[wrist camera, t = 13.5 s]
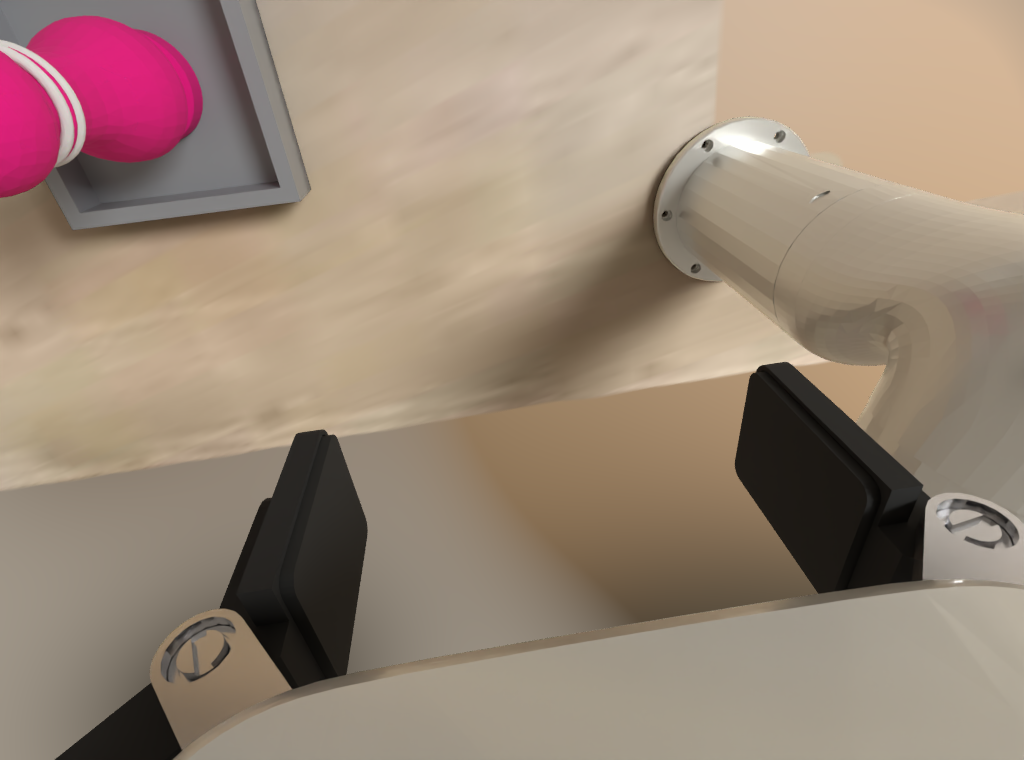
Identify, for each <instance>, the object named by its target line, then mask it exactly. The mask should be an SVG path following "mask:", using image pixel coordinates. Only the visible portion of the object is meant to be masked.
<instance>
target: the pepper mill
mask: <svg viewBox="0 0 1024 760" xmlns="http://www.w3.org/2000/svg"><path fill="white" fill-rule="evenodd" d="M202 110H203V96H202V91H201V87H200V84H199V81H198V79H197V77H196V74H195V72H194V71H193V69H192V67H191V66H190V64H189V63H188V61H187V60H186V59H185V58H184V56H183V55H182V54H181V53H180V52H179V51H178V50H177V49H176V48H175V47H173V46H172V45H171V44H170V43H168V42H167V41H165V40H164V39H162V38H161V37H159V36H157V35H155V34H152V33H150V32H147V31H143V30H139V29H133V28H131V27H129V26H127V25H125V24H123V23H120V22H117V21H115V20H112V19H109V18H104V17H100V16H86V15H85V16H77V17H68V18H63V19H61V20H58V21H55V22H53V23H51V24H49V25H48V26H46V27H45V28H43V29H42V30H40V31H39V32H38V33H37V34H36V35H35V36H34V37H33V38H32V39H31V40H30V42H29V43H28V45H27V47H26V48H24V47H22V46H19V45H17V44H15V43H11V42H8V41H4V40H0V198H2V197H8V196H13V195H16V194H19V193H22V192H25V191H28V190H30V189H32V188H33V187H35V186H36V185H38V184H39V183H41V182H42V181H43V180H45V179H46V177H47V176H48V175H49V173H50V172H51V171H52V169H53V168H54V167H59V166H62V165H64V164H66V163H68V162H70V161H71V160H72V159H74V158H75V157H76V156H77V155H78V154H79V152H80V151H81V152H83V153H86V154H88V155H91V156H94V157H97V158H100V159H105V160H110V161H116V162H125V163H132V162H142V161H147V160H153V159H156V158H158V157H161V156H163V155H165V154H166V153H168V152H169V151H171V150H172V149H173V148H174V147H175V146H176V145H177V144H178V142H179V141H180V139H183V138H184V137H186V136H187V135H189V134H190V133H191V132H192V131H193V130H194V129H195V128H196V127H197V125H198V123H199V121H200V118H201V115H202Z"/></svg>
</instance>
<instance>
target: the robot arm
mask: <svg viewBox="0 0 1024 760" xmlns="http://www.w3.org/2000/svg"><path fill="white" fill-rule="evenodd" d="M775 134H776V136H775ZM774 136H775V137H774ZM704 141H705V146H704V147H702V144H703V142H704ZM664 211H666V213H665V215H663V216H662V213H663V212H664ZM653 221H654V231H655V235H656V238H657V241H658V245H659V247H660V248H661V250H662V252H663V254H664V255H665V257H666V258H667V259H668V260H669V261H670V262H671V263H672V264H673V265H674V266H675V267H676V268H678V269H679V270H680V271H681V272H683V273H684V274H686V275H688V276H690V277H692V278H696V279H700V280H703V281H717V282H719V281H724V282H725V283H726V284H728V285H729V286H730V287H731V288H732V289H734V290H735V291H736V292H737V293H738V294H740V295H741V296H742V297H743V298H744V299H746V300H747V301H748V302H749V303H750V304H752V305H753V306H754V307H755V308H756V309H758V310H759V311H760V312H761V313H762V314H764V315H765V316H766V317H767V318H768V319H770V320H771V321H772V322H773V323H774V324H776V325H777V326H778V327H779V328H780V329H782V330H783V331H784V332H785V333H786V334H788V335H789V336H790V337H791V338H792V339H794V340H795V341H796V342H797V343H799V344H800V345H801V346H802V347H804V348H805V349H807V350H808V351H810V352H811V353H813V354H815V355H817V356H819V357H821V358H824V359H826V360H829V361H833V362H837V363H842V364H847V365H861V366H877V365H886V368H885V370H884V372H883V374H882V376H881V378H880V380H879V382H878V384H877V386H876V387H875V389H874V390H873V392H872V394H871V396H870V398H869V402H868V403H867V405H866V407H865V408H864V410H863V412H862V413H861V415H860V417H859V418H858V420H857V422H856V423H855V422H854V421H853V420H852V419H850V418H849V417H848V416H847V415H846V414H845V413H844V412H843V411H842V410H841V409H840V408H838V407H837V406H836V405H835V404H834V403H833V402H832V401H831V400H830V399H828V398H827V397H826V396H825V395H824V394H823V393H822V392H821V391H820V390H819V389H818V388H816V387H815V386H814V385H813V384H812V383H811V382H810V381H809V380H808V379H806V378H805V377H804V376H803V375H802V374H801V373H800V372H799V371H798V370H797V369H796V368H795V367H793V366H792V365H791V364H790V363H788V362H782V363H775V364H768V365H762V366H760V367H759V368H758V369H757V371H756V373H753V374H752V375H751V376H750V379H749V384H748V390H747V396H746V402H745V407H744V413H743V419H742V424H741V431H740V436H739V441H738V447H737V453H736V459H735V469H736V473H737V475H738V477H739V479H740V480H741V482H742V483H743V485H744V486H745V488H746V489H747V491H748V492H749V494H750V495H751V496H752V498H753V499H754V501H755V502H756V504H757V505H758V507H759V508H760V509H761V511H762V512H763V514H764V515H765V517H766V518H767V520H768V521H769V523H770V524H771V525H772V527H773V528H774V530H775V531H776V533H777V534H778V536H779V537H780V539H781V540H782V541H783V543H784V544H785V546H786V547H787V549H788V550H789V551H790V553H791V554H792V556H793V557H794V559H795V560H796V562H797V563H798V565H799V566H800V568H801V569H802V570H803V572H804V573H805V575H806V576H807V578H808V579H809V581H810V582H811V584H812V585H813V586H814V588H815V589H816V591H817V592H818V594H814V595H808V596H802V597H796V598H789V599H783V600H777V601H771V602H764V603H758V604H752V605H746V606H739V607H733V608H727V609H721V610H714V611H708V612H702V613H696V614H690V615H684V616H678V617H672V618H666V619H660V620H654V621H648V622H641V623H635V624H629V625H624V626H617V627H612V628H605V629H600V630H593V631H587V632H581V633H576V634H569V635H563V636H557V637H551V638H546V639H540V640H535V641H528V642H522V643H516V644H511V645H505V646H499V647H493V648H487V649H481V650H476V651H470V652H464V653H458V654H453V655H447V656H441V657H435V658H430V659H425V660H419V661H414V662H409V663H403V664H398V665H393V666H387V667H382V668H377V669H372V670H366V671H361V672H356V673H352V674H347V675H346V673H347V667H348V660H349V653H350V647H351V641H352V634H353V627H354V620H355V614H356V607H357V600H358V593H359V587H360V581H361V574H362V567H363V561H364V554H365V547H366V541H367V522H366V518H365V515H364V512H363V510H362V507H361V504H360V501H359V498H358V496H357V493H356V490H355V487H354V484H353V482H352V479H351V476H350V473H349V470H348V468H347V465H346V462H345V459H344V456H343V453H342V451H341V448H340V445H339V442H338V439H337V437H336V436H335V435H328V434H327V432H326V431H325V430H316V431H309V432H302V433H298V434H296V436H295V437H294V440H293V443H292V446H291V448H290V451H289V454H288V456H287V459H286V462H285V464H284V467H283V470H282V472H281V475H280V478H279V480H278V483H277V486H276V488H275V491H274V494H273V497H272V498H267V499H265V500H264V501H263V502H262V503H261V505H260V507H259V509H258V512H257V514H256V517H255V519H254V522H253V524H252V527H251V529H250V532H249V534H248V537H247V540H246V542H245V545H244V547H243V550H242V552H241V555H240V557H239V560H238V562H237V565H236V568H235V570H234V573H233V575H232V578H231V580H230V583H229V585H228V588H227V590H226V593H225V596H224V598H223V601H222V603H221V606H220V608H219V609H213V610H209V611H206V612H203V613H200V614H198V615H196V616H194V617H192V618H191V619H189V620H187V621H185V622H184V623H182V624H181V625H180V626H179V627H177V628H176V629H175V630H174V631H173V632H171V633H170V634H169V636H168V637H167V638H166V639H165V641H163V643H162V644H161V645H160V646H159V648H158V650H157V652H156V654H155V656H154V657H153V660H152V664H151V668H150V678H151V683H150V684H149V685H148V686H146V687H145V688H144V689H143V690H142V691H140V692H139V693H138V694H136V695H135V696H134V697H133V698H131V699H130V700H129V701H128V702H126V703H125V704H124V705H123V706H121V707H120V708H119V709H118V710H116V711H115V712H114V713H113V714H111V715H110V716H109V717H108V718H106V719H105V720H104V721H103V722H101V723H100V724H99V725H98V726H96V727H95V728H94V729H93V730H91V731H90V732H89V733H88V734H86V735H85V736H84V737H83V738H81V739H80V740H79V741H78V742H76V743H75V744H74V745H73V746H71V747H70V748H69V749H68V750H66V751H65V752H64V753H63V754H61V755H60V756H59V757H58V758H56V759H55V760H1024V214H1018V213H1012V212H1006V211H1001V210H995V209H991V208H986V207H982V206H978V205H973V204H969V203H965V202H961V201H957V200H954V199H950V198H946V197H942V196H939V195H936V194H932V193H929V192H926V191H922V190H919V189H915V188H912V187H909V186H903V185H900V184H897V183H894V182H890V181H887V180H884V179H881V178H877V177H874V176H871V175H867V174H864V173H861V172H857V171H854V170H851V169H848V168H844V167H841V166H838V165H834V164H831V163H828V162H825V161H821V160H818V159H815V158H811V157H810V156H809V153H808V150H807V148H806V146H805V145H804V143H803V142H802V141H801V139H800V137H799V136H798V135H797V134H796V133H794V132H793V131H792V130H791V129H790V128H789V127H787V126H785V125H783V124H781V123H779V122H777V121H774V120H769V119H766V118H759V117H749V116H748V117H740V118H732V119H730V120H727V121H724V122H721V123H718V124H716V125H714V126H712V127H710V128H708V129H707V130H705V131H703V132H701V133H700V134H699V135H698V136H696V137H695V138H694V139H692V140H691V141H690V142H689V143H688V144H687V145H686V146H685V147H684V148H683V149H682V150H681V151H680V152H679V153H678V154H677V156H676V157H675V158H674V160H673V161H672V163H671V164H670V166H669V167H668V169H667V170H666V172H665V174H664V177H663V179H662V181H661V183H660V185H659V188H658V192H657V195H656V199H655V204H654V215H653ZM693 265H694V266H693ZM692 266H693V267H692Z"/></svg>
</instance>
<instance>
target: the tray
mask: <svg viewBox="0 0 1024 760" xmlns="http://www.w3.org/2000/svg"><path fill="white" fill-rule="evenodd" d="M85 15H86V16H100V17H104V18H109V19H112V20H115V21H117V22H120V23H123V24H125V25H127V26H129V27H131V28H133V29H139V30H143V31H147V32H150V33H152V34H155V35H157V36H159V37H161V38H162V39H164V40H165V41H167V42H168V43H170V44H171V45H172V46H173V47H175V48H176V49H177V50H178V51H179V52H180V53H181V54H182V55H183V56H184V58H185V59H186V60H187V61H188V63H189V64H190V66H191V67H192V69H193V71H194V72H195V74H196V77H197V79H198V81H199V84H200V87H201V91H202V96H203V110H202V115H201V118H200V121H199V123H198V125H197V127H196V128H195V129H194V130H193V131H192V132H191V133H190V134H189V135H187V136H186V137H184V138H183V139H180V141H179V142H178V144H177V145H176V146H175V147H174V148H173V149H172V150H171V151H169V152H168V153H166V154H165V155H163V156H161V157H158V158H156V159H153V160H147V161H142V162H132V163H125V162H116V161H110V160H105V159H100V158H97V157H94V156H91V155H88V154H86V153H83V152H81V151H80V152H79V154H78V155H77V156H76V157H75V158H74V159H72V160H71V161H70V162H68V163H66V164H64V165H62V166H59V167H54V168H53V169H52V171H51V172H50V173H49V175H48V176H47V177H46V179H45V181H46V183H47V185H48V187H49V189H50V190H51V192H52V194H53V196H54V198H55V199H56V201H57V203H58V205H59V207H60V208H61V210H62V212H63V214H64V216H65V217H66V219H67V221H68V223H69V225H70V226H71V228H72V230H79V229H87V228H94V227H102V226H110V225H118V224H126V223H134V222H141V221H149V220H157V219H165V218H173V217H181V216H189V215H196V214H204V213H212V212H220V211H228V210H236V209H243V208H251V207H259V206H267V205H275V204H283V203H291V202H298V201H301V200H302V199H303V198H304V197H305V196H306V194H307V193H308V192H309V191H310V190H311V187H310V184H309V180H308V177H307V174H306V170H305V167H304V163H303V160H302V157H301V153H300V150H299V146H298V143H297V140H296V136H295V133H294V129H293V126H292V123H291V119H290V116H289V112H288V109H287V106H286V102H285V99H284V95H283V92H282V89H281V85H280V82H279V78H278V75H277V72H276V68H275V65H274V61H273V58H272V55H271V51H270V48H269V44H268V41H267V38H266V34H265V31H264V27H263V24H262V21H261V17H260V14H259V10H258V7H257V4H256V0H0V40H4V41H8V42H11V43H15V44H17V45H19V46H22V47H24V48H26V47H27V45H28V43H29V42H30V40H31V39H32V38H33V37H34V36H35V35H36V34H37V33H38V32H39V31H40V30H42V29H43V28H45V27H46V26H48V25H49V24H51V23H53V22H55V21H58V20H61V19H63V18H68V17H77V16H85Z"/></svg>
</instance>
